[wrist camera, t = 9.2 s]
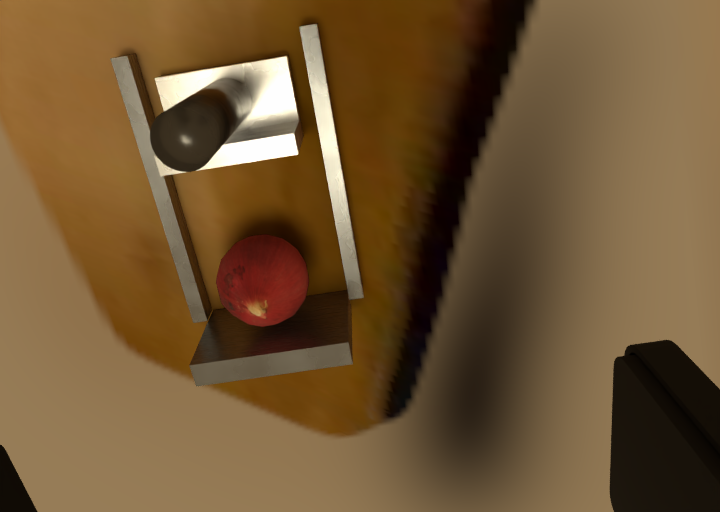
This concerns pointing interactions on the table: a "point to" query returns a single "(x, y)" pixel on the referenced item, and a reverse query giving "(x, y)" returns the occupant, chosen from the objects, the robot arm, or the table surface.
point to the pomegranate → (262, 280)
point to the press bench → (223, 331)
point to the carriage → (226, 116)
